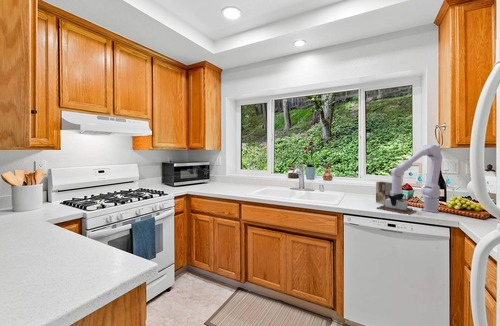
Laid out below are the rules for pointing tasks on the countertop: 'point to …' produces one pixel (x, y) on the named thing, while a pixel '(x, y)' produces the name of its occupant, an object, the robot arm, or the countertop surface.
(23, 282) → the countertop surface
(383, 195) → the coffee box
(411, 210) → the jig
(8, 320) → the countertop surface
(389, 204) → the gray rectangular block
